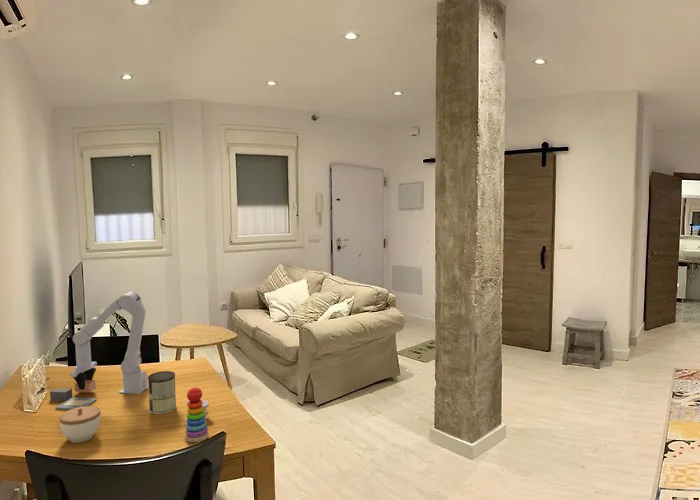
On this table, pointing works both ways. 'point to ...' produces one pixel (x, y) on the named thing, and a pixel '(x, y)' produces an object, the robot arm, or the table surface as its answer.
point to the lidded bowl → (80, 423)
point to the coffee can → (162, 392)
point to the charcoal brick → (61, 394)
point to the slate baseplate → (76, 403)
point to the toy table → (205, 405)
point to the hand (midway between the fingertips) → (85, 387)
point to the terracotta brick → (86, 386)
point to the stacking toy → (195, 417)
